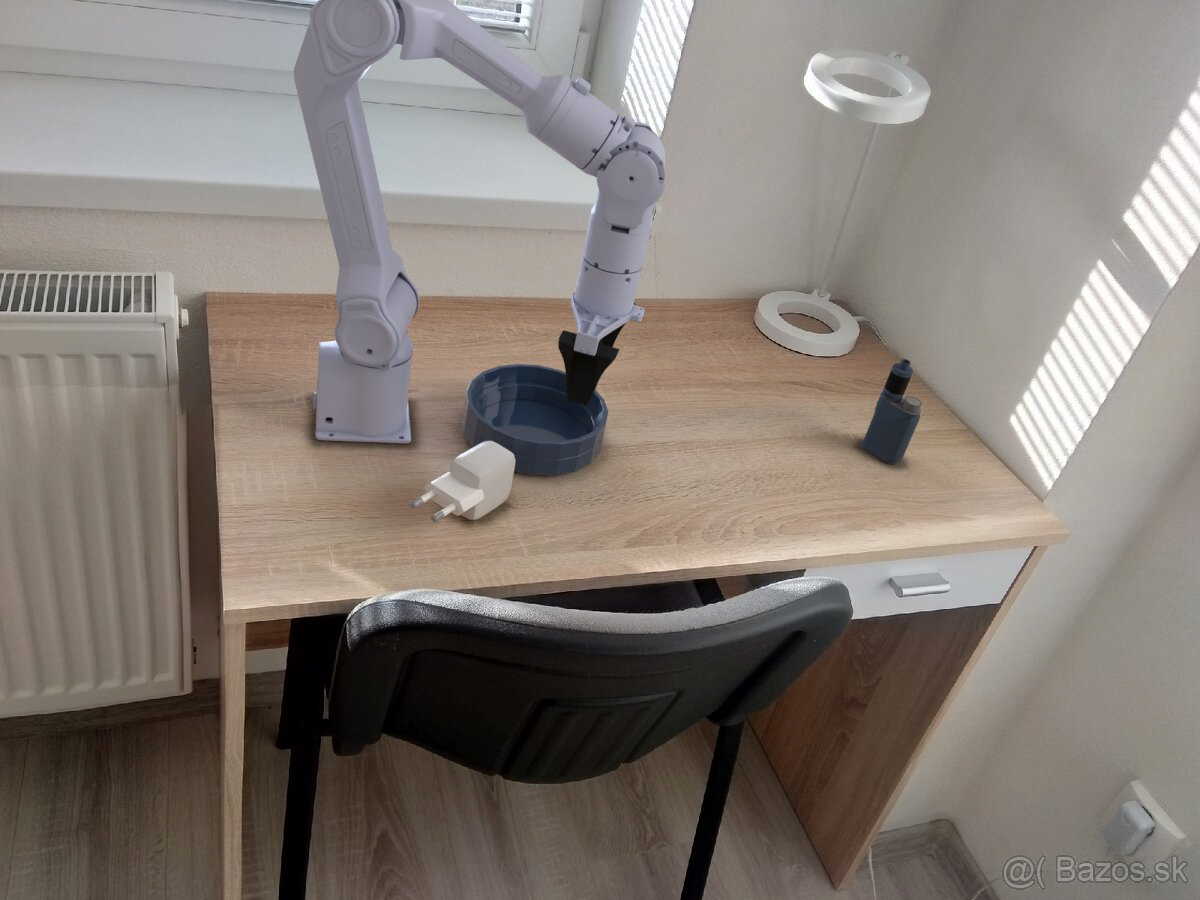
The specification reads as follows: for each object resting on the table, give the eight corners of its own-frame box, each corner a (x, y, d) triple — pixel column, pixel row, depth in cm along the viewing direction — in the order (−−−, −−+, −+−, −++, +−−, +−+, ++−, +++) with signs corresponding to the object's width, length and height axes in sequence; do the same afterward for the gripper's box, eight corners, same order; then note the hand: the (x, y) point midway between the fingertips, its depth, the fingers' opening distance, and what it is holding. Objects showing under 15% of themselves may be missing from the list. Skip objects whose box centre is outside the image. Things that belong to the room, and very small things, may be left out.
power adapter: (438, 554, 95) (444, 504, 92) (399, 528, 97) (404, 478, 93) (515, 502, 103) (524, 455, 100) (478, 479, 105) (485, 432, 102)
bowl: (469, 476, 105) (474, 440, 102) (456, 394, 117) (460, 360, 114) (612, 481, 109) (621, 446, 106) (585, 401, 121) (593, 368, 118)
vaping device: (867, 438, 126) (902, 353, 119) (904, 461, 123) (942, 375, 116) (856, 445, 124) (890, 358, 117) (893, 468, 121) (930, 381, 115)
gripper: (641, 303, 91) (610, 430, 99) (665, 242, 103) (636, 359, 111) (563, 282, 92) (539, 410, 99) (596, 224, 103) (572, 342, 111)
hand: (585, 382), depth 105 cm, fingers open, 7 cm apart
